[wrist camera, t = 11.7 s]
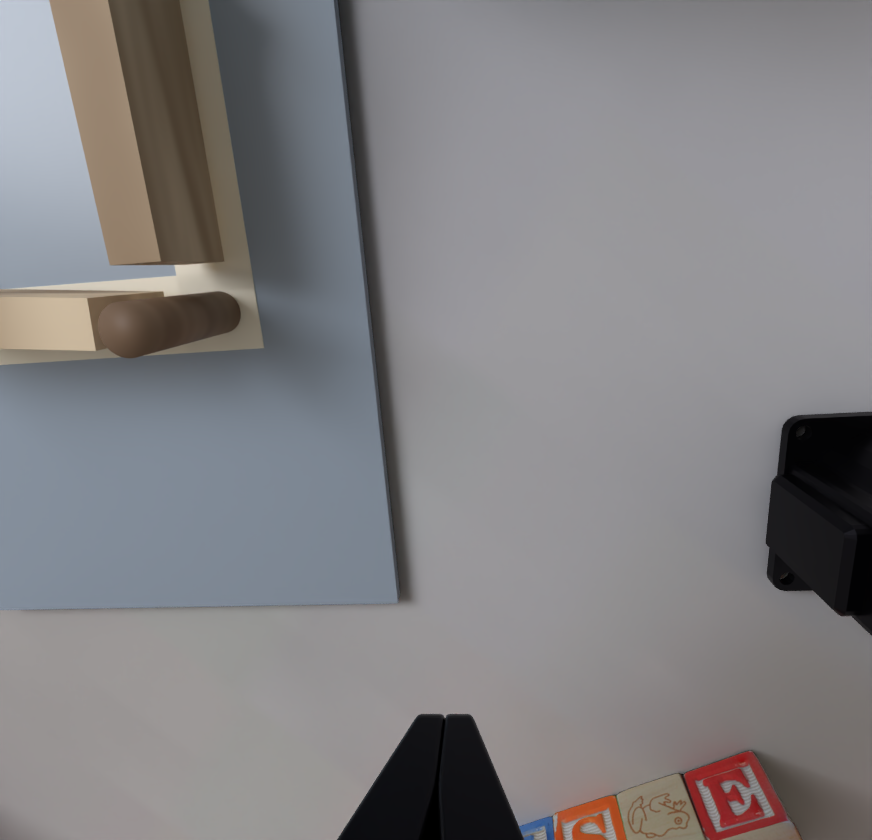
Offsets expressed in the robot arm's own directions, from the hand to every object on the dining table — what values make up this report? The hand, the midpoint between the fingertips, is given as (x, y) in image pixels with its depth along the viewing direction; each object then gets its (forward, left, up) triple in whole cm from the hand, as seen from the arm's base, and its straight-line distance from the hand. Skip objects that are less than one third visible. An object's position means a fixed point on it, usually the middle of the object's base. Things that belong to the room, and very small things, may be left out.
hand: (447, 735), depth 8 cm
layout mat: (+11, -6, -12) cm, 18 cm away
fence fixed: (+8, -11, -12) cm, 18 cm away
